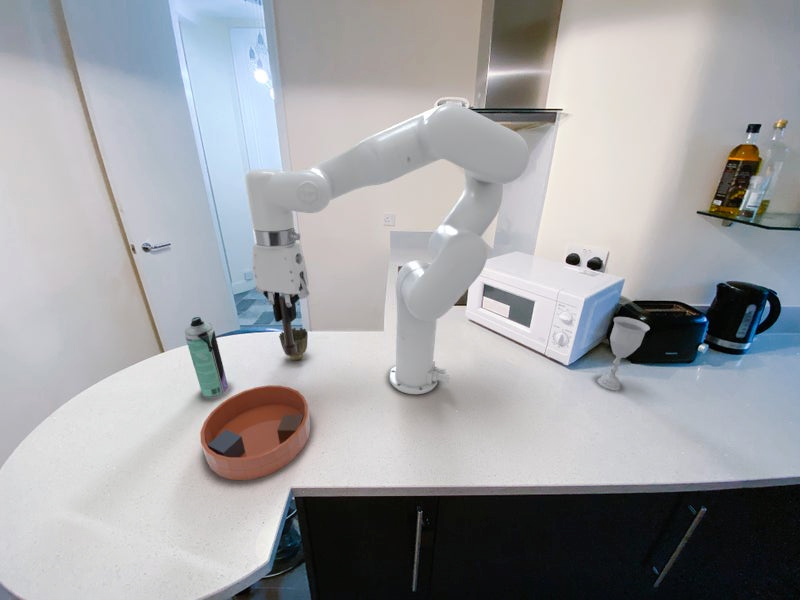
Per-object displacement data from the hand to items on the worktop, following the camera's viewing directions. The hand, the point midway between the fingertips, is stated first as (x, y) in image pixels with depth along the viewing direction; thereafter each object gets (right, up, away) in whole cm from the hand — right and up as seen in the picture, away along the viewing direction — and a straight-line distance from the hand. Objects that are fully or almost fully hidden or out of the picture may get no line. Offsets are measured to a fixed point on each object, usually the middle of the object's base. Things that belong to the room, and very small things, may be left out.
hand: (285, 319), depth 69 cm
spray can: (-19, -18, +7) cm, 27 cm away
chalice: (+80, -18, +13) cm, 83 cm away
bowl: (-3, -24, -5) cm, 25 cm away
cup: (-4, -12, +20) cm, 24 cm away
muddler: (0, -8, +4) cm, 9 cm away
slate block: (-7, -25, -10) cm, 28 cm away
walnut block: (+3, -23, -6) cm, 24 cm away
